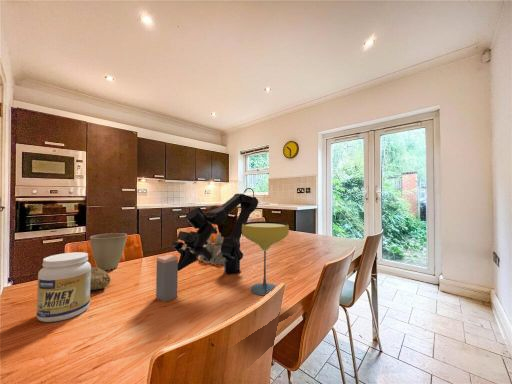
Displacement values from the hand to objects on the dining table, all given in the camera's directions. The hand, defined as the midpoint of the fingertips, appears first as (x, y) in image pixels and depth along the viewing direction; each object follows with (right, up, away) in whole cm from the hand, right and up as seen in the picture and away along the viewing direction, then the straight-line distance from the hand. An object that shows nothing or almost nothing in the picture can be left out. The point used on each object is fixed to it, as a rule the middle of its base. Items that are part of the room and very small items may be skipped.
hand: (177, 270), depth 80 cm
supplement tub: (-29, -8, -14) cm, 33 cm away
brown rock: (-36, -9, +6) cm, 37 cm away
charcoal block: (-2, -8, -3) cm, 9 cm away
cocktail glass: (+32, -9, +4) cm, 34 cm away
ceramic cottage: (+6, -10, +41) cm, 42 cm away
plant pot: (-43, -9, +26) cm, 51 cm away
